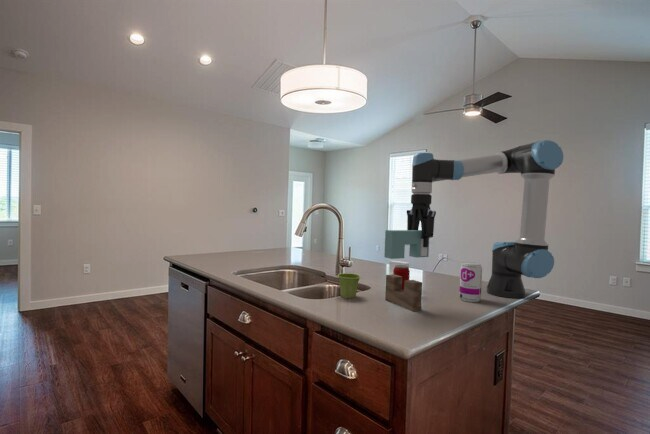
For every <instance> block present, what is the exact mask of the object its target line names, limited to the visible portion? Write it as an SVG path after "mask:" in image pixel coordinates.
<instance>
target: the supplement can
mask: <svg viewBox="0 0 650 434" xmlns="http://www.w3.org/2000/svg"><path fill="white" fill-rule="evenodd" d="M482 277H483V267H482V265H481V263H480V262H479V263H478V262H472V261H463V262H462V263H461V264H460V268H459V291H458V292H459V294H458V295H459V297H458V298H460V300H461V301H464V302H469V303H478V302H480V301H482V300H481V299H482V282H483V281H482V279H483V278H482Z"/></svg>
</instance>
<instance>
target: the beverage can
mask: <svg viewBox="0 0 650 434" xmlns="http://www.w3.org/2000/svg"><path fill="white" fill-rule="evenodd" d="M393 274H395V275H398V276H402V290H404V281H405V280H410V274H411V273H410V267H409V268H408V266H404V265H396V266H395V268H394V270H393Z"/></svg>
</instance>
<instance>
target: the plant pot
mask: <svg viewBox="0 0 650 434" xmlns="http://www.w3.org/2000/svg"><path fill="white" fill-rule="evenodd" d="M361 276H362V275H361V274H356V273H351V272H350V273H349V272H348V273H347V272H346V273H339V274H337V277H338V280H339V288H340V297H342V298H343V299H345V298H346V299H351V298H353V299H354V298H356V297H357V290H358V285H359V281H360V278H361Z"/></svg>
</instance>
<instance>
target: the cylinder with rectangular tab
mask: <svg viewBox="0 0 650 434" xmlns="http://www.w3.org/2000/svg"><path fill="white" fill-rule="evenodd" d="M388 263H389V264H388V266H389V269H388V275H392V274H393V270H394V268H395V266H396V265H404V266H408V268H409V269H410V262H407V261H399V260H389V262H388Z"/></svg>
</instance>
